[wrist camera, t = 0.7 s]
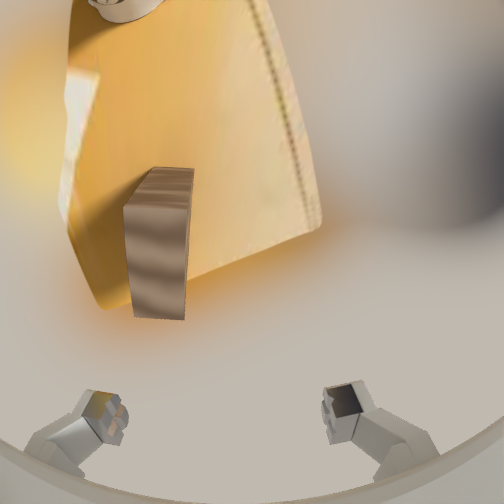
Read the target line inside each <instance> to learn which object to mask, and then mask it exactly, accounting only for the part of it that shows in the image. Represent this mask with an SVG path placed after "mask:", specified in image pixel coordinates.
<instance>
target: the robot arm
mask: <svg viewBox="0 0 504 504" xmlns="http://www.w3.org/2000/svg"><path fill="white" fill-rule="evenodd" d="M163 1H164V0H88V2H89V4H90V5H91V6H93V7H95V8H97V9H98V11H99V13H100V15H101V16H102V17H103V18H104V19H106V20H108V21H110V22H115V23H124V22H129V21H133V20H136V19H139V18H141V17H143V16H145V15H147V14H148V13H150V12H151V11H152V10H154V9H155V8H156V7H157V6H158V5H159V4H160V3H161V2H163ZM323 397H324V400H323V401H322V417H323V421H324V424H326V425H327V436H328V439H329V443H330V445H331V444H337V443H342V442H347V441H351V440H352V442H353V443H354V444H355V445H357V446H358V447H359V448H361V449H362V450H363V451H364V452H366V453H367V454H368V455H370V456H371V457H372V458H373V459H375V460H376V461H377V462H378V463H380V464H381V466H380V467H379V469H378V471H377V472H376V474H375V475H374V477H373V479H374V483H371V484H368V485H364V486H361V487H357V488H354V489H350V490H347V491H342V492H338V493H333V494H329V495H324V496H319V497H314V498H307V499H301V500H293V501H286V502H275V503H262V504H504V416H503V417H501V418H500V419H499V420H497V421H496V422H494V423H493V424H491V425H490V426H489V427H487V428H486V429H484V430H483V431H481V432H480V433H478V434H477V435H475V436H473V437H472V438H470V439H469V440H467V441H465V442H464V443H462V444H460V445H458V446H457V447H455V448H453V449H451V450H450V451H448V452H446V453H444V454H442V455H440V454H439V452H438V451H437V449H436V447H435V445H434V443H433V442H432V440H431V438H430V436H429V434H428V433H427V431H425V430H423V429H421V428H418V427H417V426H415V425H413V424H411V423H409V422H407V421H405V420H403V419H401V418H399V417H397V416H395V415H393V414H392V413H390V412H388V411H386V410H384V409H382V408H378V409H377V407H376V405H375V403H374V401H373V399H372V397H371V395H370V393H369V391H368V389H367V387H366V385H365V383H364V381H363V380H359V381H355V382H350V383H345V384H341V385H336V386H331V387H326V388H324V390H323ZM120 402H121V399H120V397H119V396H118V395H117V394H112V393H106V392H100V391H94V390H88V389H87V390H86V391H85V392H84V393H83V395H82V397H81V398H80V400H79V401H78V403H77V405H76V407H75V408H74V410H73V412H72V413H71V414H70V413H68V414H67V415H65V416H63V417H61V418H60V419H58V420H56V421H55V422H53V423H51V424H49V425H48V426H46V427H44V428H42V429H41V430H39V431H37V432H35V433H34V434H33V435H32V437H31V439H30V441H29V442H28V444H27V446H26V447H25V449H24V451H23V452H22V451H20V450H18V449H17V448H15V447H13V446H12V445H10V444H8V443H6V442H5V441H3V440H2V439H0V504H205V503H191V502H182V501H174V500H167V499H160V498H153V497H148V496H143V495H139V494H134V493H129V492H126V491H122V490H118V489H114V488H110V487H107V486H104V485H100V484H97V483H94V482H91V481H88V480H85V479H84V477H85V474H84V472H83V471H82V470H81V469H80V468H79V467H78V465H79V464H80V463H82V462H83V461H84V460H85V459H86V458H87V457H89V456H90V455H91V454H92V453H93V452H94V451H96V450H97V449H98V448H99V447H100V446H101V445H102V444H103V443H106V444H112V445H117V446H119V445H120V443H121V440H122V438H123V435H124V434H123V432H122V430H123V429H124V428H126V427H127V424H128V418H129V415H128V412H127V410H126V408H125V407H124V406H123V405H122V404H121V403H120Z"/></svg>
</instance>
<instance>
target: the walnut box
mask: <svg viewBox="0 0 504 504" xmlns="http://www.w3.org/2000/svg"><path fill="white" fill-rule="evenodd" d="M193 178H194V169H190V168H172V167H153V168H152V170H151V171H150V172H149V173H148V175H147V176H146V177H145V179H144V180H143V181H142V182H141V184H140V185H139V186H138V188H137V189H136V190H135V192H134V193H133V194H132V196H131V197H130V198H129V200H128V201H127V202H126V204H125V205H124V207H123V217H124V234H125V247H126V258H127V268H128V277H129V285H130V292H131V299H132V305H133V311H134V317H140V318H155V319H170V320H184V317H185V297H186V280H187V266H188V253H189V234H190V217H191V203H192V190H193Z"/></svg>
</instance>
